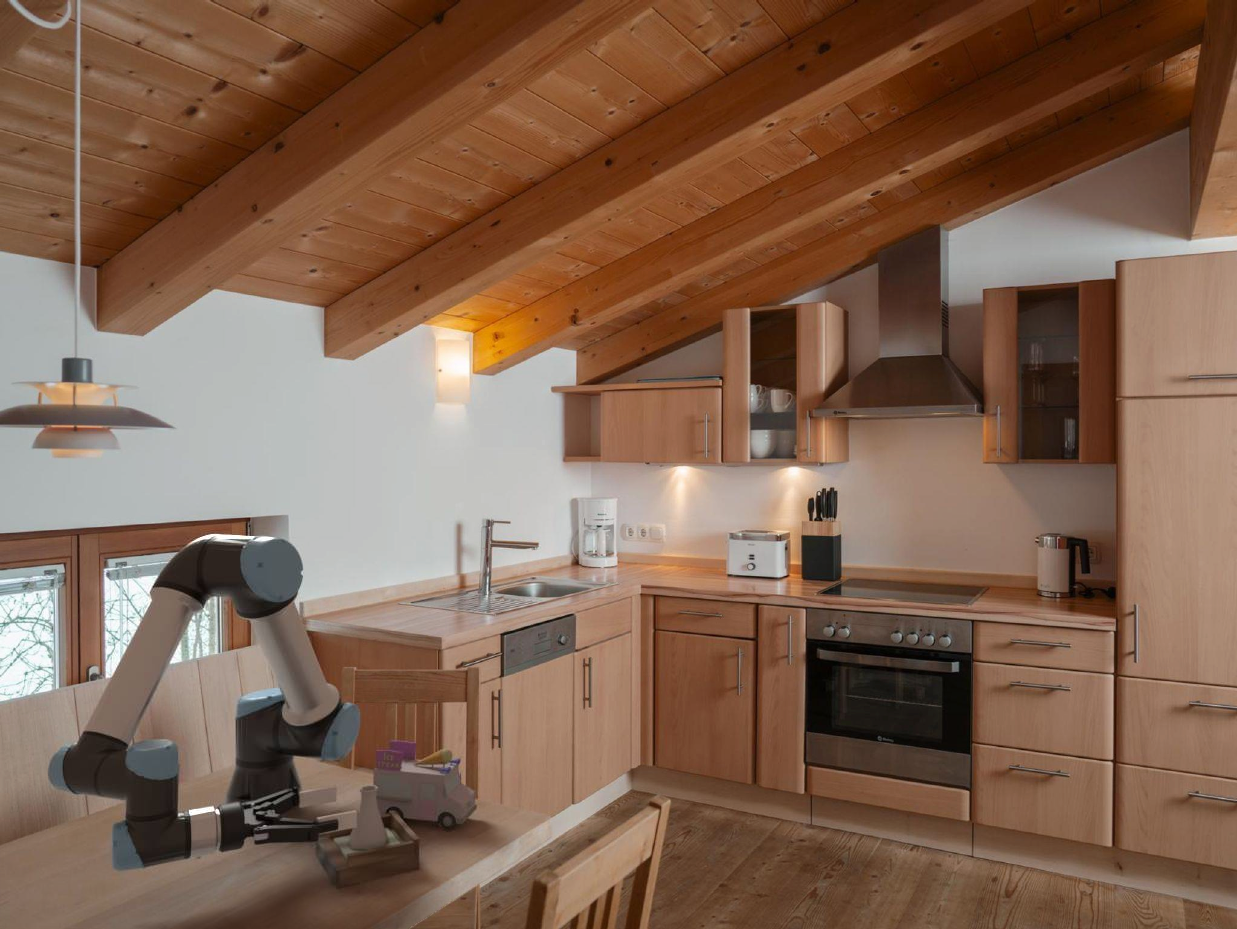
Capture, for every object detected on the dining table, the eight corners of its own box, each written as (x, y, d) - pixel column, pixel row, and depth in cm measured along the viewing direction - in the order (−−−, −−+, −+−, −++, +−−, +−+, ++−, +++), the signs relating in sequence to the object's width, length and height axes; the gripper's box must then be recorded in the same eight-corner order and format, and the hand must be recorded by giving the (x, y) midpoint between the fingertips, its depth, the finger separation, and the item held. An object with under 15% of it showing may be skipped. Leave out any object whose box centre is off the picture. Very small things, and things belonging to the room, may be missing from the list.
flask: (389, 849, 162) (389, 793, 162) (346, 853, 160) (347, 796, 160) (388, 833, 169) (389, 779, 169) (347, 836, 167) (348, 782, 167)
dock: (315, 854, 167) (316, 824, 167) (393, 838, 174) (394, 810, 174) (335, 888, 154) (336, 856, 154) (419, 869, 162) (419, 838, 162)
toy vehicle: (461, 835, 177) (462, 758, 177) (368, 825, 181) (370, 750, 181) (477, 817, 186) (479, 744, 186) (389, 808, 190) (390, 736, 190)
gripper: (206, 825, 161) (328, 803, 172) (228, 881, 140) (365, 852, 151) (207, 783, 161) (328, 764, 172) (229, 833, 140) (365, 808, 151)
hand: (345, 805), depth 162 cm, fingers open, 13 cm apart
